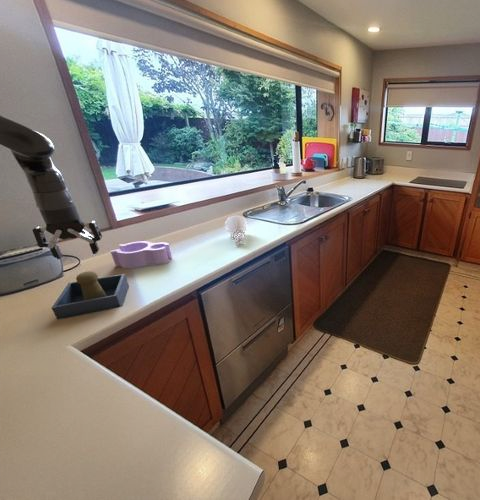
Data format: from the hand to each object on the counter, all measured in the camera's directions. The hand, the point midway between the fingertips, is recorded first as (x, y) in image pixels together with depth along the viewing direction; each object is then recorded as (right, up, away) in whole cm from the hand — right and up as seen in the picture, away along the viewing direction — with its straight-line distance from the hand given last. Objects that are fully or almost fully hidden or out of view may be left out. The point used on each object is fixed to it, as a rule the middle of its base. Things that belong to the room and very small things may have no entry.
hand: (78, 255), depth 88 cm
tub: (-1, -16, +8) cm, 18 cm away
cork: (-1, -16, +7) cm, 18 cm away
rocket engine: (+25, +7, +60) cm, 66 cm away
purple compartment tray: (-5, -3, +35) cm, 36 cm away
